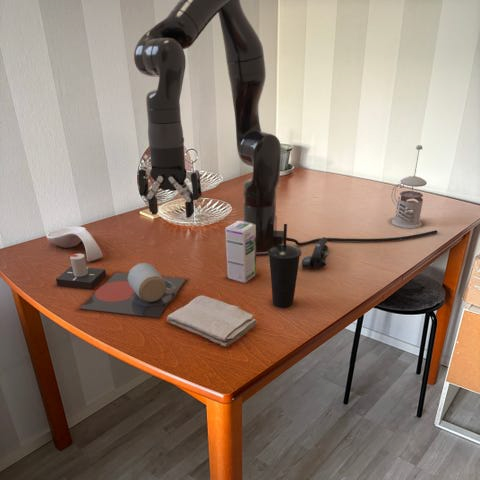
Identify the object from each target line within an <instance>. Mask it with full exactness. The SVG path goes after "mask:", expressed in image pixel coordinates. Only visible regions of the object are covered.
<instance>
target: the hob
mask: <svg viewBox="0 0 480 480" xmlns="http://www.w3.org/2000/svg"><path fill="white" fill-rule="evenodd" d="M128 274H129V273H126V272H117V271H116V272H115V273H114V274H113V275H112V276H111V277H110V278H109V279H108V280H107V281H106V282H105V283H104V284H102V285H100V286H99V287H98V288H97V289H96V290H95V292H94V294H93V295H92V296H90V297H89V298H88V300H86V302H84V303H83V304H82V305H81V306H80V307H79V310H81V311H91V312H99V313H107V314H108V313H109V314H117V315H125V316H132V317H133V316H134V317H143V318H151V319H159V318H160V317H161V315H162V314H163V312H164V311H165V310H166V308H168V305H169V304H170V303H171V302H172V301H173V300H174V299H175V298H176V296H177V293H178V292H179V291H180V289H181V288H182V286H183V285H184V284H185V282H187V281H186V280H187V279H186V278H178V277H169V276H168V277H167V276H161V277H162V278H163V279H164V280H167V281H169V282H171V283H172V284H174V285H175V287H176V289H175V291H174V293H173V294H164V295H163V296H162V297H161V298H160V299H159V300H157V301H155V302H146V301H144V300H142V299H141V298H140V297H139V296H138V295H137V294H136V293H135V291H134V290H133V289H132V288H131V287H130V285H129V283H128ZM166 288H168V287H166Z"/></svg>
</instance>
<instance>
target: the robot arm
mask: <svg viewBox="0 0 480 480" xmlns="http://www.w3.org/2000/svg"><path fill="white" fill-rule="evenodd" d="M217 15H218V17H219V23H220V28H221V29H220V30H221V35H222V40H223V46H224V52H225V54H224V55H225V61H226V66H227V75H228V80H229V84H230V90H231V98H232V105H233V111H234V112H233V113H234V120H235V121H234V122H235V138H236V149H237V150H236V151H237V154H238V157H239V159H240V160H241V162H243V164H245V165H247V166H250V167H252V177H251V178H248V179H247V180H245V181H244V182H243V221H244V222H250V223H253V224H255V225H256V256H264V255H268V249H269V248H271V247H273V246H276V245H280V244H283V238H284V230H278V216H277V188H278V185H279V182H280V179H281V165H282V145H281V144H282V143H281V142H280V140H279V138H278V137H277V136H276V135H274V134H272V133H268V132H264V131H262V128H261V121H260V115H259V113H260V111H259V109H260V108H259V107H260V106H259V105H260V102H261V101H260V100H261V98H262V95H263V91H264V87H265V84H266V79H267V78H266V77H267V73H266V72H267V71H266V61H265V53H264V52H265V51H264V46H263V44H262V41H261V39H260V37H259V35H258V33H257V32H256V30H255V28H254V26H252V24H251V22H250V21H249V19H248V17H247V16H246V14H245V12H244V9H243V6H242V3H241V0H179V1H178V2H177V3H176V4H175V6H174V7H173V9H171V11H170V12H169V14H168V15H167V16H166V17H165V18H164V19H162V20H161V21H160V22H158V23H156V25H154V26H153V27H151V28H150V29H149V30H147V32H145V33H144V34H143V35H142V36H141V37H140V39H138V41H137V43H136V45H135V47H134V52H133V62H134V65H135V67H136V69H137V70H138V72H140V73H141V75H144V76H147V77H154V78H158V83H157V88H156V89H153V90H150V91H149V92H147V94H146V97H145V102H146V103H145V104H146V105H145V106H146V115H147V139H148V147H149V149H148V150H149V157H150V158H149V159H150V166H151V169H148V168H147V167H145V166H144V167H142V168H140V169H139V170H138V172H137V175H138V193H139V195H140V197H146V198H147V202H148V210H149V212H150V213H151V215H153V216H155V215H158V213H159V207H158V197H157V194H158V192H159V191H160V190H162V191H171V192H175V191H176V192H178V193H179V195H180V196H182V197H183V199H184V200H185V203H184V205H185V218H191V217H192V216H193V215H194V214H195V202H194V201H198V200H199V199H200V198H201V197H202V196H203V195H202V184H201V176H200V171H199V170H195V171H187V169H186V159H185V158H186V157H185V145H184V144H185V137H184V130H183V126H182V125H183V124H182V113H181V95H182V92H183V91H182V90H183V85H184V79H185V72H186V67H187V65H186V64H187V61H186V54H185V50H186V49H189V48H191V47H192V46H193V45H194V44H195V42H196V41H197V40H198V39H199V37H200V36H201V34H202V33H203V32H204V30H205V29H206V28H207V27H208V25H209V24H210V22H211V21H212V20H213V19H214V17H216V16H217ZM149 178H152V180H153V181H154V183H153V185H152V186H151V188H150V189H149ZM186 179H188V181H189V182H190V183H191V189H190V187H189V185H188V184H187V182H186ZM191 190H192V191H191ZM437 233H438V230H436V229H435V230H431V231H427V232H422V233H416V234H412V235H411V234H410V235H406V236H405V235H404V236H397V237H386V238H385V237H384V238H383V237H382V238H338V237H326V238H327V239H328V240H327V242H353V243H354V242H357V243H360V242H361V243H365V242H367V243H368V242H369V243H372V242H374V243H375V242H392V241H393V242H394V241H403V240H408V239H414V238H419V237H420V238H421V237H425V236H429V235H433V234H437ZM321 238H322V237H321ZM321 238H313V239H311V240H308V241H304V242H299V240H297V239H295V238H291V237H287V239H286V242H292V243H294V244H295V246H298V247H299V246H306V245H311V244H313V243H317V242H318V241H319V240H320V239H321Z"/></svg>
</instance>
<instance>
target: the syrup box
mask: <svg viewBox="0 0 480 480" xmlns="http://www.w3.org/2000/svg"><path fill="white" fill-rule="evenodd" d="M224 230H225V249H226V250H225V251H226V269H227V279H230V280H233V281H236V282H240V283H244V284H246V283H247V282H248V281H249V280H251V279H252V278H254V277H255V276H256V275H257V255H256V225H255V224H253V223H250V222H244V220H242V221H241V220H236V221H235V222H234V223H232V224H230V225H227V226H226V227H225V229H224Z"/></svg>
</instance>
